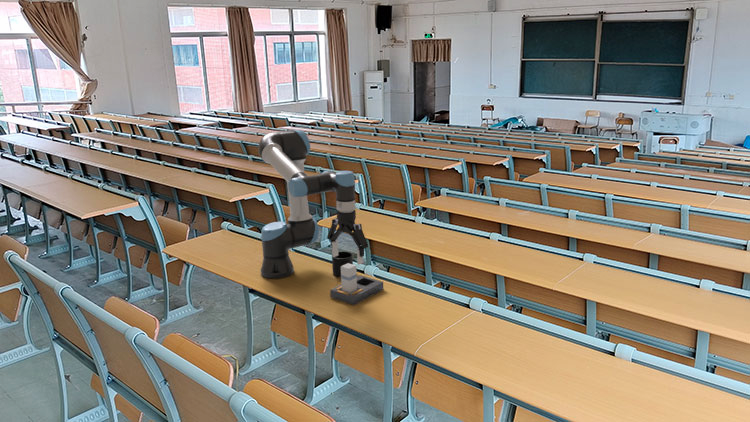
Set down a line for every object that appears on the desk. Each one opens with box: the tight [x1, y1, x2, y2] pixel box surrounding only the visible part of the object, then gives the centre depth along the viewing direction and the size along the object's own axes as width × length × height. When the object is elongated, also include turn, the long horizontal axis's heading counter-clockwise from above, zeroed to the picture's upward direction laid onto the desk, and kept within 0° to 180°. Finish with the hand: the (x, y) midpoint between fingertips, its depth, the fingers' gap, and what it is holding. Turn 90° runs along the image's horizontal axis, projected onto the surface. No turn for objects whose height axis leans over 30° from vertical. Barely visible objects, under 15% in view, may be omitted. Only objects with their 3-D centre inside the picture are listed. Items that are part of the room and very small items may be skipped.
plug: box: [340, 263, 358, 294], centre depth 228 cm, size 5×5×14 cm
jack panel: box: [330, 274, 384, 306], centre depth 233 cm, size 13×19×4 cm
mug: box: [331, 251, 354, 278], centre depth 252 cm, size 9×12×9 cm
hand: (347, 259), depth 225 cm, fingers open, 13 cm apart
